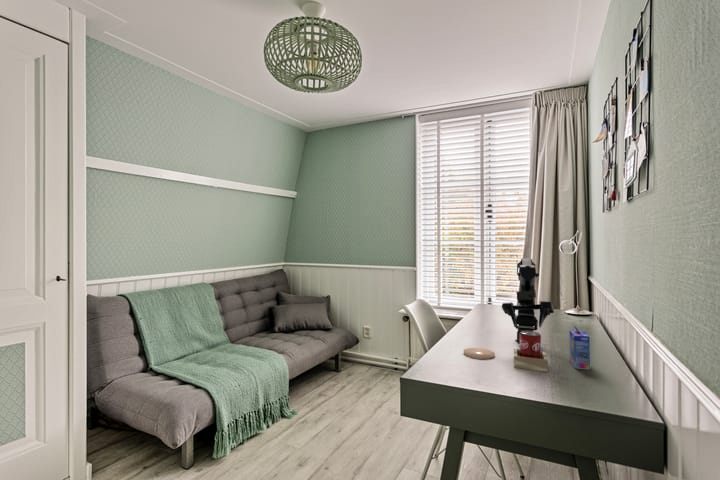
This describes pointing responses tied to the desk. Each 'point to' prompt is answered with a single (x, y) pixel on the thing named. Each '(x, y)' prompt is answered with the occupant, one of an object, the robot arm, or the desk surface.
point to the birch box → (530, 362)
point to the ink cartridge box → (579, 349)
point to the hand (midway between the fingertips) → (527, 327)
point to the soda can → (530, 344)
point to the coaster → (479, 353)
